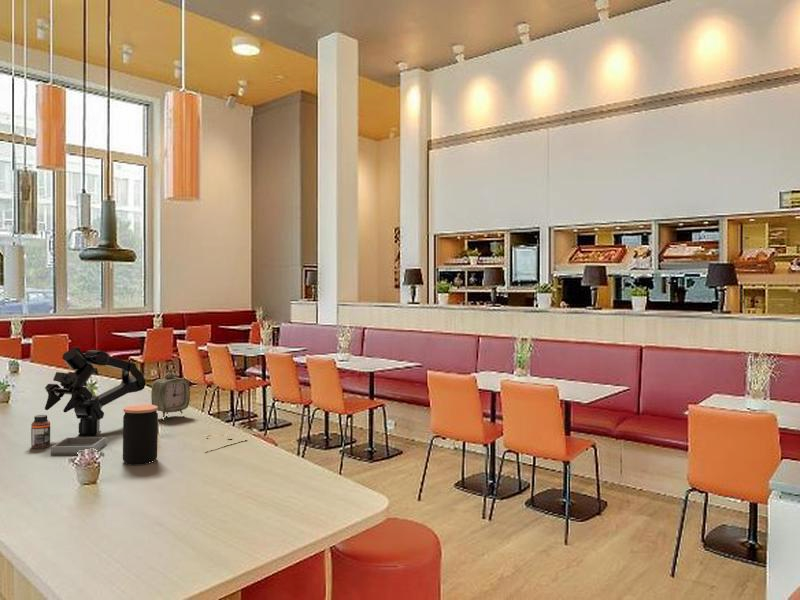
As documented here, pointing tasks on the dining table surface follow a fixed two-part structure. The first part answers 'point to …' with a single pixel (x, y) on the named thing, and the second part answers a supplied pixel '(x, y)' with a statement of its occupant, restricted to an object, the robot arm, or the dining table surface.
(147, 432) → the coffee jar
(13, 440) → the dining table surface
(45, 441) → the supplement bottle
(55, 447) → the tray
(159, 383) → the tabletop clock
